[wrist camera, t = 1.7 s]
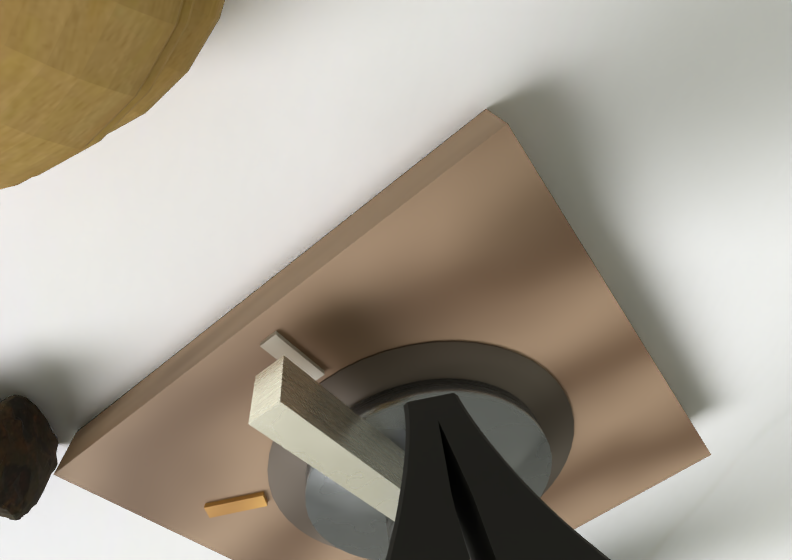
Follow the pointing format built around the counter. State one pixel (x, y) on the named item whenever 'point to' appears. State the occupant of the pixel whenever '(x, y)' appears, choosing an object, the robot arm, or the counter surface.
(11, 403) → the brown rough bar
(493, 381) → the dial board
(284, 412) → the dial
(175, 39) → the pot
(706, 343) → the counter surface
